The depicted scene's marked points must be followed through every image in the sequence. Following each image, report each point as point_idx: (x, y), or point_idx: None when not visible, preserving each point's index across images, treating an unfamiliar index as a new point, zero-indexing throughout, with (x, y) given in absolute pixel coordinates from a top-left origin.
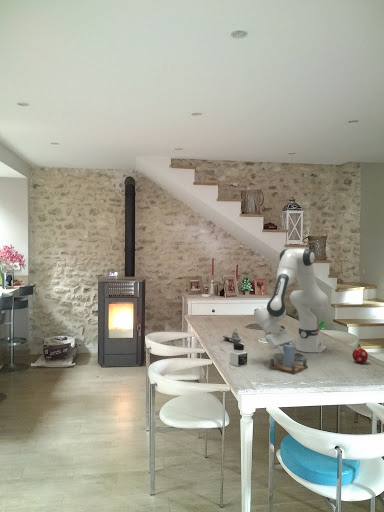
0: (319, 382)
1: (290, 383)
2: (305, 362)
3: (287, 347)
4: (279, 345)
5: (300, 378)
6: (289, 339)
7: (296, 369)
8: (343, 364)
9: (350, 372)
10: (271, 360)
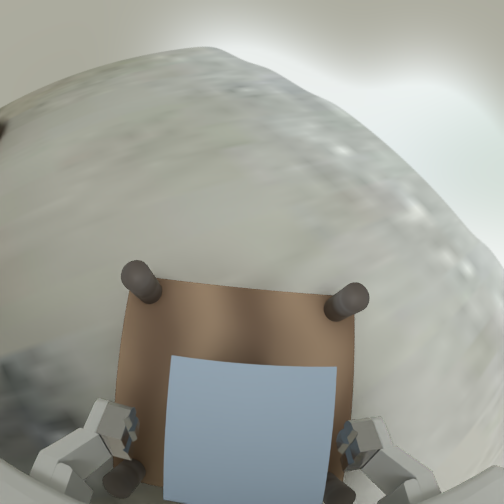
0: (352, 156)
1: (455, 249)
2: (152, 273)
3: (327, 427)
4: (416, 501)
5: (376, 239)
6: (15, 499)
7: (294, 302)
8: (8, 168)
9: (111, 109)
10: (351, 494)
